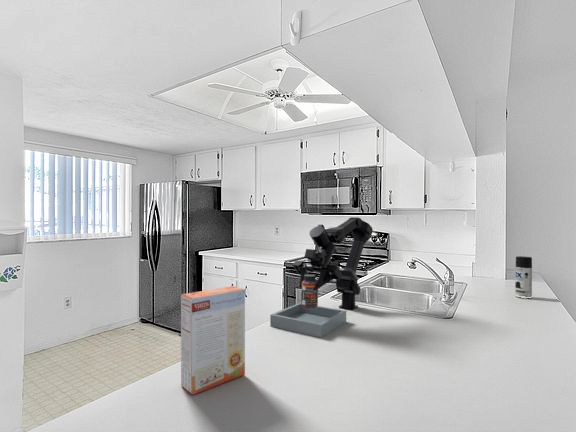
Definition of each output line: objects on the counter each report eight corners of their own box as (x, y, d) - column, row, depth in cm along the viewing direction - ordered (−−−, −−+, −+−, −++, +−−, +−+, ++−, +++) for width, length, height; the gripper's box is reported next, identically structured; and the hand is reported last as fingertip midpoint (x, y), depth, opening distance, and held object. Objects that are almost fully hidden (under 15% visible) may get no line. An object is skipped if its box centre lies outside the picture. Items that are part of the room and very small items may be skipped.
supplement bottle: (304, 309, 116) (304, 276, 116) (299, 304, 122) (299, 274, 122) (320, 308, 118) (320, 276, 118) (314, 303, 123) (314, 273, 123)
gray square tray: (299, 312, 133) (299, 302, 133) (346, 321, 123) (346, 310, 123) (270, 326, 117) (270, 314, 117) (321, 337, 106) (321, 325, 106)
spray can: (511, 296, 167) (512, 256, 167) (524, 295, 167) (524, 256, 168) (522, 299, 160) (522, 257, 160) (535, 299, 161) (535, 257, 161)
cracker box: (231, 367, 84) (232, 284, 84) (245, 375, 80) (246, 288, 80) (179, 385, 75) (180, 292, 75) (191, 396, 70) (192, 297, 70)
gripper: (295, 239, 129) (277, 272, 120) (338, 242, 117) (321, 278, 108) (307, 258, 135) (290, 290, 126) (348, 262, 123) (333, 297, 115)
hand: (307, 288), depth 119 cm, fingers closed on supplement bottle, 6 cm apart
